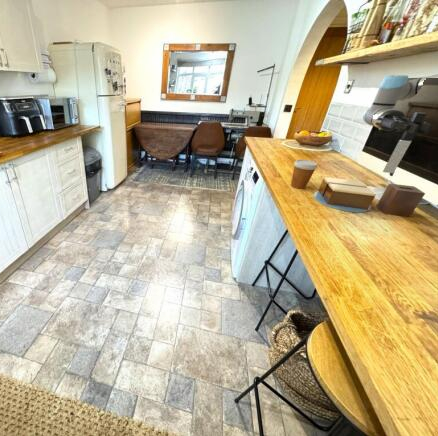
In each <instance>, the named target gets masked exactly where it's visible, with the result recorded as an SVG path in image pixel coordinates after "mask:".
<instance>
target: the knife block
mask: <svg viewBox="0 0 438 436" xmlns="http://www.w3.org/2000/svg"><path fill="white" fill-rule="evenodd" d="M425 195H426V192H424V191H423V190H420V189H419V188H417V187H416V186H414V185H406V184H398V183H397V184H395V183H388V185H387V186H386V188H385V189H384V191H383V193H382V194H381V197H380V198H379V200H378V202H377V204H376V207H377V208H378V209H379V210H380V211H381V212H382V213H383V214H384V215H392V216H398V217H406V218H410V217H411V216H412V214H413V213H414V211H415V210H416V208H417V207H418V205H419V204H420V202H421V201H422V199H423V198H424V196H425Z"/></svg>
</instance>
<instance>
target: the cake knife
mask: <svg viewBox="0 0 438 436" xmlns="http://www.w3.org/2000/svg"><path fill="white" fill-rule="evenodd" d="M427 114H428V113H426V112H414V113H413V115H412V117H411V118H410V119H411V121H410V122H411V123H414V124H418V125H421V123H422V121H425V118H426V116H427ZM415 135H416V134H412V133H410V132H407V131H404V132H403V134H402V136H401V138H400V139H399V140H398V142H397V144H396V146H395V147H394V150H393V151H392V153H391V155H390V157H389V159H388V160H387V163H386V165H385V166H384V168H383V170H382V173H387V174H394V173H395V171H396V169H397V168H398V166H399V164H400V162H401V161H402V159H403V157H404V155H405V154H406V152H407V150H408V148H410V147H409V146H410V145H411V143H412V141H413V139H414V137H415Z"/></svg>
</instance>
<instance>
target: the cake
mask: <svg viewBox="0 0 438 436" xmlns="http://www.w3.org/2000/svg"><path fill="white" fill-rule="evenodd" d="M376 195H377V194H376V192H374V191H373V190H372V189H371V188H370V187H368V185H366V183H364V182H363V181H362V180H355V179H345V178H337V177H336V178H335V177H329V176H328V177H327V176H324V177H323V178H322V181H321V183H320V185H319V188H318V190H317V191H314V193H313V198H314V200H316V201H317V202H318V203H320V204H321V205H323V206H325V207H329V208H332V209H334V210H338V211H341V212H347V213H348V212H349V213H357V214H359V213H366V212H369V211H370V210H371V207H372V206H371V205H372V203H373V201H374V199H375V197H376Z"/></svg>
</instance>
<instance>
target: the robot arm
mask: <svg viewBox="0 0 438 436" xmlns="http://www.w3.org/2000/svg"><path fill="white" fill-rule="evenodd" d="M426 78H438V73H437V74H433V75H428V76H423V77H419V78H414V79H410V80H409V75H406V74H404V75H403V74H402V75H401V74H399V75H398V74H390V75H389V74H388V75H386V76H385V77H384V78H383V79H382V82H381V84H380V85H379V88H378V90H377V93H376V95H375V97H374V99H373V102H372V104H371V106H370V107H369V108H368V109H366V110H365V111H364V112H363V115H362V120H363V121H364V123H366V124H367V125H369V126H373V127H375V128H378V130H379V131H380V130H383V131H385V132H386V131H387V132H390V131H394V130H396V132H399V133H402V131H404V132H405V131H407V132H410V133H412V134H415V135H416V134H417V133H419V134H422V135H429V134H430V132H431V130H432V128H433V125H431V124H430V122H426V121H425V120H423V121H422V123H421V125H418V124H414V123H411V122H410V121H411V119H412V118H408V117H407V116H406V114H405V112H403V111H401V110H398V109H395V106H396V104H397V102H398V101H407V100H406V99H409V100H411V99H410V98H412V97H414V96H415V95H416V94H417V93H418V92H419V90H420V89H421V87H422V85H423V82H424V80H426ZM412 99H413V98H412Z"/></svg>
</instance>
